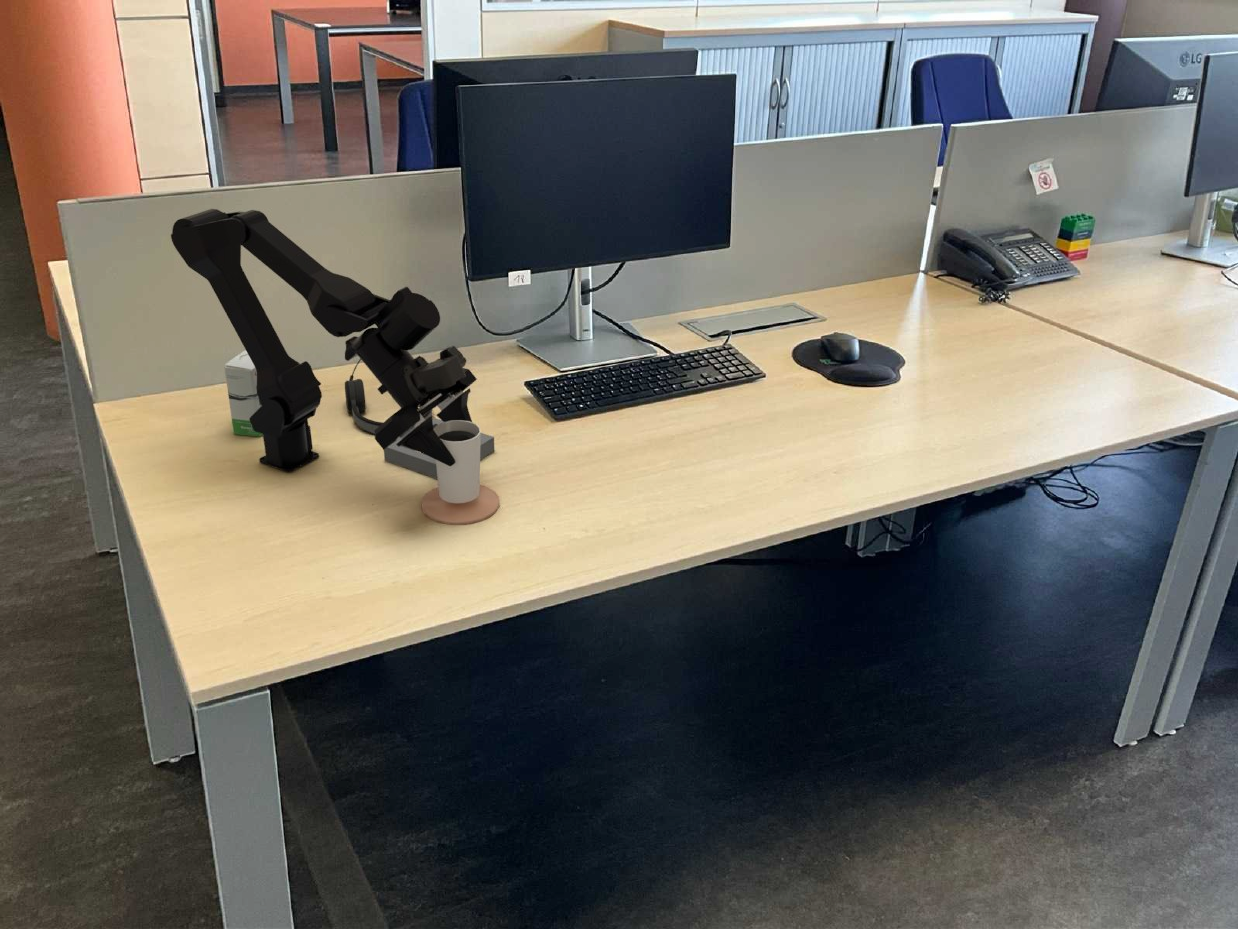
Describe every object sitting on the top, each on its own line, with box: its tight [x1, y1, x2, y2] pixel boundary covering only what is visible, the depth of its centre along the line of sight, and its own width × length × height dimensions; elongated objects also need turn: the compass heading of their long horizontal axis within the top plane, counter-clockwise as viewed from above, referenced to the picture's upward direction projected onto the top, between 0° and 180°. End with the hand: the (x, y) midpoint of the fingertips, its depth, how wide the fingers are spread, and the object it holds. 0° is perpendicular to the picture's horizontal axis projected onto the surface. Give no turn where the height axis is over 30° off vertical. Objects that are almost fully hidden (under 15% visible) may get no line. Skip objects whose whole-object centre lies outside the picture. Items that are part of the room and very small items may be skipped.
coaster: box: [421, 483, 500, 526], centre depth 156 cm, size 11×11×1 cm
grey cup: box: [434, 420, 482, 503], centre depth 153 cm, size 7×7×10 cm
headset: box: [344, 358, 433, 436], centre depth 180 cm, size 13×9×19 cm
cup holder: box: [383, 417, 495, 480], centre depth 168 cm, size 12×12×2 cm
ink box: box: [224, 349, 263, 437], centre depth 174 cm, size 9×5×12 cm, turn 168°
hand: (465, 454), depth 152 cm, fingers closed on grey cup, 6 cm apart
